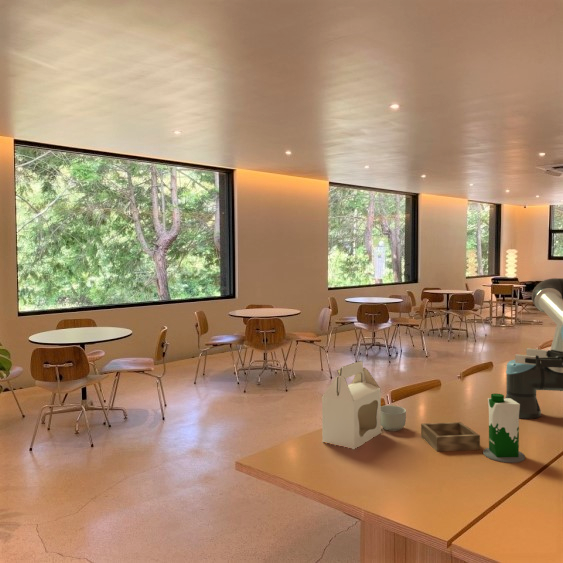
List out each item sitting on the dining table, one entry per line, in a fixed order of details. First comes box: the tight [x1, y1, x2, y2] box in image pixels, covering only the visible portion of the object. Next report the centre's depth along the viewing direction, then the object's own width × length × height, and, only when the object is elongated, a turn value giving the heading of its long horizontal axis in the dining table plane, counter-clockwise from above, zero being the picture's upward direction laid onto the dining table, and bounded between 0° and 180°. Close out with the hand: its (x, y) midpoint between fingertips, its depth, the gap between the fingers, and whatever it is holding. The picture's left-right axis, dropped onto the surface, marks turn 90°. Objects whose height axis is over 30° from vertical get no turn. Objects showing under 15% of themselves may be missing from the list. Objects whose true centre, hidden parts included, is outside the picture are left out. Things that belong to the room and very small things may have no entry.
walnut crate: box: [420, 421, 481, 452], centre depth 188 cm, size 15×15×5 cm
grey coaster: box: [482, 447, 526, 464], centre depth 175 cm, size 13×13×1 cm
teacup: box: [381, 404, 407, 432], centre depth 205 cm, size 14×11×8 cm
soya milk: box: [487, 393, 520, 457], centre depth 175 cm, size 9×9×20 cm
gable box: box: [321, 360, 382, 450], centre depth 194 cm, size 22×13×28 cm, turn 144°
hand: (521, 355), depth 181 cm, fingers open, 13 cm apart
